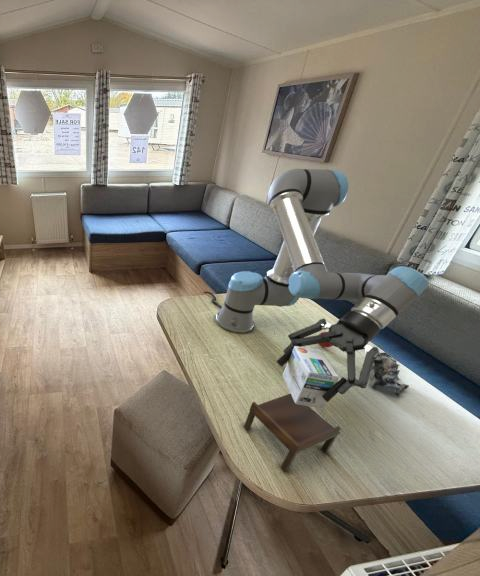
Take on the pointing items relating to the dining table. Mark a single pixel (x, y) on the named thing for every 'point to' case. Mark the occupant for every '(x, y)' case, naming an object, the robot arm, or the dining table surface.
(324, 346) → the onion
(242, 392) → the dining table surface
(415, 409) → the dining table surface
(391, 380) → the grey rugged figurine
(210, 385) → the dining table surface
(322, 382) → the light bulb box
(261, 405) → the wooden step stool
